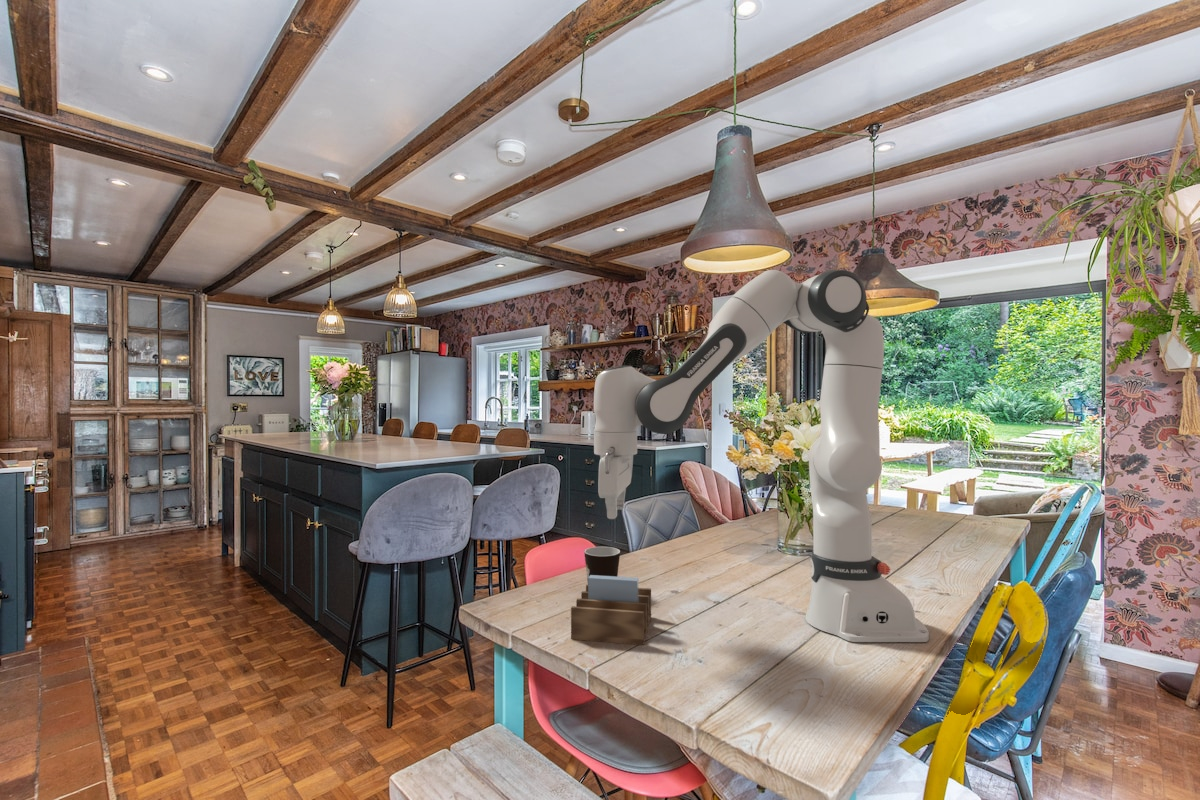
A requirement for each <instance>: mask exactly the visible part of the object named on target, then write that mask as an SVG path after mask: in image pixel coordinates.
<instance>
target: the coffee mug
mask: <svg viewBox="0 0 1200 800" xmlns="http://www.w3.org/2000/svg"><path fill="white" fill-rule="evenodd" d="M583 551H584V562H585V568H586V570H585V571H586V579H587V582H588V578H589V576H590V575H599V576H615V577H619V576H618V573H619V565H620V556H621V550H620V549H618V548H616V547H612V546H593V547H588V548H586V549H585V550H583Z"/></svg>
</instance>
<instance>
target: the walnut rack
mask: <svg viewBox="0 0 1200 800" xmlns="http://www.w3.org/2000/svg"><path fill="white" fill-rule="evenodd" d="M580 594H581V598H576V601H575V602H576V606H571V607H570V639H571V640H577V639H578V640H580V641H589V640H590V641H591V642H603V643H604V642H605V643H613V644H614V643H616V644H625V645H626V644H627V645H638V646H644V645H645V642H646V641H645V640H646V637H647V633H648V630H649V626H650V622H651V618H652V588H649V587H647V588H645V587H638V597H639V603H636V602H621V601H607V600H593V599H588V583H587V584H586V585H585V591H584V590H582V591H581V593H580Z"/></svg>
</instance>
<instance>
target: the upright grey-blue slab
mask: <svg viewBox="0 0 1200 800" xmlns="http://www.w3.org/2000/svg"><path fill="white" fill-rule="evenodd" d="M587 584H588V599H593V600H607V601H621V602H636V603H639V597H638V588H639V577H628V576H617V577H615V576H599V575H590V576H589V578H588V581H587Z"/></svg>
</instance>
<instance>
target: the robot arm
mask: <svg viewBox="0 0 1200 800" xmlns="http://www.w3.org/2000/svg"><path fill="white" fill-rule="evenodd" d="M866 291H867V290H866V289H865V286H864V283H863V282H862V280H861V278H860V277H858V276H857V275H856V274H855V273H854V272H851V271H849V270H843V269H830V270H827V271H823V272H822V273H820V274H817V275H814V276H812V277H810V278H808V279H806V280H805V281H803V282H796V281H794V279H792V278H791V277H790V276H789V275H788V274H787V273H785V272H783V271H781V270H777V269H769V270H765V271H763V272H762V273H759V275H757V276H755V277H754V278H753V279H751V280H750V281H749V282H747V283H746V284H744V285H743V286H742V287H741V288H739V289H738V290H737V291H736V292H735V293H734V294H733V295H732V296H731V297H730V298H729V299H728V300H727V301H726V302H724V304H723V305H722V306H721V307H720V308H719V309H718V311H717V312H716V314H715V315H714V316H713V318H712V319H711V321H710V322H709V323H708V324H709V325H708V332H707V334H706V337H705V339H704V340H703V342H702V343H701V345H700V346H698V348H697V349H696V350H695V351H694V352H693V353H692V354H691V355H690V356H689V357H688V358H687V359H686V360H685V361H684V362H683V363H682V364H681V365H680V366H679V367H678V368H677V369H676V370H675V371H673V372H672V373H671V374H669V375H667V376H665V377H662V378H659V379H654V378H653V377H652V378H651V377H649V376H648V375H646V374H643V373H641V372H639V371H638V370H637V369H635V368H634V367H633V366H632V365H619V366H613V367H609V368H605V369H604V370H602V371H600V372H599V373H598V374H597V376H596V378H595V380H594V381H595V383H594V388H593V389H594V391H593V413H594V417H595V425H594V429H593V453H594V455H596V456H599V458H600V459H599V463H598V484H597V485H598V488H597V489H598V490H597V491H598V497H599V498H600V499H604V500H605V501H604V502H605V508H606V516H607V519H609V520H615V519H616V518H617V517H618V511H619V510H623V509H624V508H625V499H626V498H625V497H626V491H627V488H628V486H629V485H630V484H631V483H632V477H633V468H634V467H633V464H634V456H635V455H637V454H638V427H639V426H643V427H644V428H645V429H646V430H649V431H650V432H652V433H654V434H660V435H667V434H671V433H674V432H676V431H678V430H680V429H681V428H682V427H683V426H685V424H687V423H686V422H688V419H689V418H690V416H691V413H692V411H693V409H694V405H695V403H696V401H697V399H698V398H699V396H700V395H701V394H702V393H703V392H704V390H705V389H706V388H708V387H709V386H710V384H711V383H712V382H713V381H714V380H716V378H717V377H718V376H719V375H720V374H721V373H722V372H723V371H725V369H726V368H727V367H728V366H729V365H731V364H732V363H734V362H735V361H737V360H739V359H741V358H742V357H744V356H746V355H748V354H749V353H750V352H752V351H753V350H755V349H756V348H757V347H759V345H760V344H762V343H763V342H764V341H765V340H767V338H768V337H769V336H771V334H772V333H773V332H774V331H775V330H776V329H777V328H778V327H779V326H781V325H782V324H784V325H786V326H788V327H789V328H791V329H792V330H794V331H796V332H799V333H804V334H808V333H809V334H811V333H816V332H821V335H822V336H823V339H824V341H825V347H826V348H825V349H826V352H825V357H824V363H823V371H822V372H823V373H822V382H821V388H820V389H821V390H820V397H819V398H820V400H819V407H820V436H819V437H817V438H816V439H815V440H814V442H813V443H812V444H811V446H810V448H809V451H808V469H809V470H808V472H809V483H810V484H809V485H810V486H809V487H810V494H811V495H810V496H811V505H812V521H813V524H812V525H813V526H812V527H813V530H812V531H813V534H812V536H813V537H812V538H813V540H812V541H813V545H812V546H813V549H812V551H811V555H810V577H811V580H812V581H811V591H810V596H809V600H808V601H809V602H808V605H807V610H806V614H805V616H804V617H805V618H804V619H805V621H806V622H807V624H809V625H811V626H812V627H814V628H815V629H817V630H820V631H822V632H826V633H829V634H832V635H835V636H837V637H840V638H841V639H843V640H845V641H847V642H852V643H926V642H927V643H928V641H929V639H930V634H929V633H930V632H929V630H928V627H927V626H926V625H925V624H924V623H923V622H922V621H920V620H919V619H918V618H917V617H916V614H915V610H914V606H913V604H912V602H911V600H910V599H909V598H908V597H907V595H906V594H904V593H903V592H902V591H901V590H900V589H899V588H897V587H896V586H895V585H894V584H893V583H891V582H890V581H889V580H888V579H886V578H885V577H884V576H888V575H889V573H890V574H891V567H890V566H889V565H888V564H887V563H885V562H883V561H881V560H880V559H878V558H877V557H875V556H874V555H873V553H872V551H873V550H872V543H873V542H872V540H873V539H872V537H873V536H872V515H871V512H870V508H869V502H868V496H867V489H869V488H871V487H872V486H874V484H876V483H877V481H878V480H879V479H880V478H881V473H882V466H883V465H882V464H883V463H882V460H881V457H880V456H881V455H880V449H881V447H880V445H881V444H880V443H881V441H880V440H881V439H880V425H879V424H880V421H879V403H880V398H881V397H880V396H881V386H882V378H883V371H884V357H885V354H884V353H885V349H884V348H885V343H884V331H883V329H884V328H883V325H882V323H881V322H880V320H879V319H877V318H876V317H875V316H873V315H870V314H869V311H870V306H869V303H868V301H867V293H866ZM883 575H884V576H883Z"/></svg>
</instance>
